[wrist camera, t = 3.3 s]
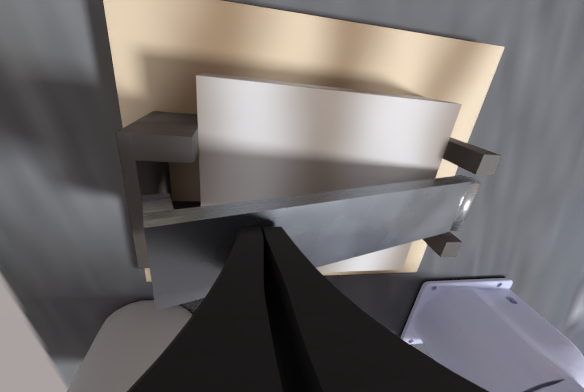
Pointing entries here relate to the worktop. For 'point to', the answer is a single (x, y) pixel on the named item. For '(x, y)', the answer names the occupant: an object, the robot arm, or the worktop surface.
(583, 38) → the worktop surface
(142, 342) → the cup
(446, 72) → the board
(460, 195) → the retention strap
